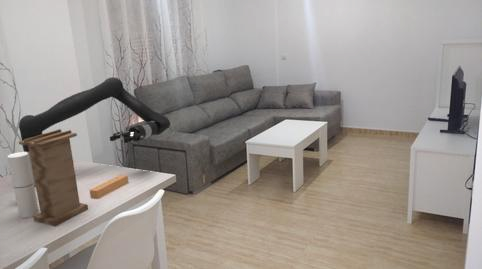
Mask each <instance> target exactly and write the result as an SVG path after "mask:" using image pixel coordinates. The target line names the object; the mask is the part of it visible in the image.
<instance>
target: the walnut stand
mask: <svg viewBox="0 0 482 269" xmlns="http://www.w3.org/2000/svg"><path fill="white" fill-rule="evenodd" d="M77 136H78V134H77V132H72V130H70V129H69V130H66V131H62V129H61V128H59V129H55V130H51V131H49V132H45V133H42V134H41V135H38V136H35V137H31V138H28V139H24V140H23V141H22V140H20V141H18V145H21V146H23V145H28V147H29V153H30V158H31V163H32V169H33V174H34V180H35V185H36V186H35V189H36V190H35V191H36V197H37V202H38V207H39V213H38V214H36V215H34V216H32V218H33V222H36V223H40V224H45V225H48V226H53V227H57V226H60V225H61V224H64V223H65V222H67V221H68V220H71V219H72V218H74V217H76V216H79V214H82V213H83V212H84V213H85V212H86V211H87V210H89V204H86V203H81V202H80V197H79V191H78V189H79V188H78V184H77V178H76V172H75V165H74V159H73V152H72V146H71V140H70V139H72V138H75V137H77Z"/></svg>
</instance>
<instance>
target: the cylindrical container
mask: <svg viewBox="0 0 482 269" xmlns="http://www.w3.org/2000/svg"><path fill="white" fill-rule="evenodd" d="M7 162H8V165H9V171H10V176H11V181H12V187H13V190H14V196H15V201H16V206H17V207H16V208H17V211H18V214H19V215H18V216H19V217H20V218H23V219H24V218H29V217H30V218H31V217H33V216H35V215H37V214H39V213H40V208H39V203H38V197H37V192H36V190H35V189H36V187H35V186H34V182H33V177H32V171H31V166H30V161H29V155H28V152H24V151H20V152H19V151H18V152H14V153H10V154H8V155H7Z"/></svg>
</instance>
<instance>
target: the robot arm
mask: <svg viewBox="0 0 482 269" xmlns="http://www.w3.org/2000/svg"><path fill="white" fill-rule="evenodd" d="M110 98H114V99H115V100H117V101H118V102H120V103H122V104H123V105H124V106H126V107H127V108H128V109H129V110H131V112H133V113H134V114H135V115H136V116H137V117H139V118H140V119H141V120H143V121H144V122H145V123H140V124H137V125H134V126H131V127H130V128H129V130H127V131H123V130H120V131H117V132H114V133H112V135H111V136H109V141H110V142H114V141H117V140H121V141H122V140H123V143H124V144H127V143H131V142H134V143H136V142H139V141H142V140H145V139H148V138H149V137H152V136H158V135H161V134H162V133H164V132H165V131H167V129H170V128H169V127H170V126H171V121H170V119H169V118H168V117H167V116H165V115H163V114H161V113H159V112H157V111H155V110H153V109H152V108H150V107H149V106H148V105H147V104H146V103H144V102H143V101H141V100H139V99H138V98H136V97H135V96H133V95H132V94H131V93H130V92H129V91H127V90H126V89H125V87H124V84H123V81H122V80H121V79H119V78H118V77H115V76H113V77H109V78H107V79H105V80H104V81H103V82H101V83H100V84H98V85H96V86H94V87H92V88H89V89H86V90H83V91H81V92H78V93H75V94H72V95H70V96H68V97H66V98H63V99H62V100H60V101H59V102H57V103H56V104H54V105H52V106H51V107H50V108H48V109H47V110H45V111H43V112H41V113H38V114H35V115H31V114H27V115H25V116H23V117H21V118H20V120H19V122H18V129H19V133H20V137H21V138H20V139H21V141H23V140H24V139H28V138H31V137H35V136H38V135H41V134H43V132H44V131H46V130H47V129H49V128H51V127H53V126H54V125H56V124H58V123H62V122H64V121H66V120H69V119H70V118H73V117H75V116H77V115H79V114H82V113H83V112H85V111H87V110H88V109H91V108H92V107H94V106H95V105H97V104H98V103H100V102H103V101H104V100H107V99H110ZM22 149H23V152H28V155H29V161H30V166H31V171H32V177H33V182H34V187H36V185H35V180H34V174H33V169H32V163H31V158H30V153H29V147H28V145H22Z"/></svg>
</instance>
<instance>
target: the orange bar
mask: <svg viewBox="0 0 482 269" xmlns="http://www.w3.org/2000/svg"><path fill="white" fill-rule="evenodd" d="M127 184H129V175H126V174H120V175H118V176H116V177H113V178H112V179H110V180H107V181H105V182H103V183H101V184H99V185H96V186H95V187H92V188H90V189H89V196H90V198H91V199H94V200H98V199H101V198H102V197H104V196H106V195H108V194H110V193H112V192H114V191H116V190H118V189H120V188H121V187H123V186H125V185H127Z"/></svg>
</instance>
